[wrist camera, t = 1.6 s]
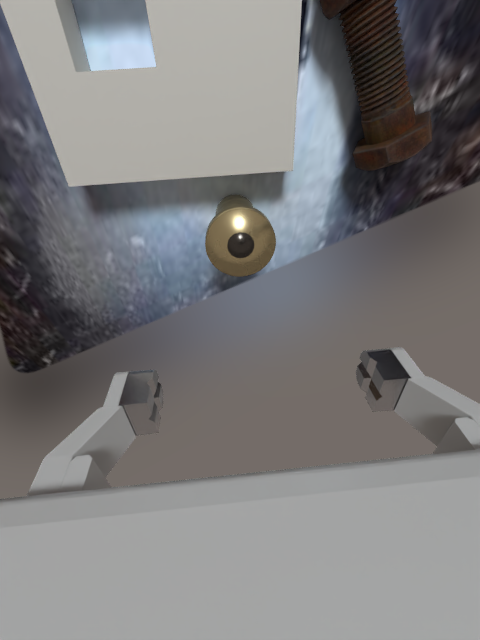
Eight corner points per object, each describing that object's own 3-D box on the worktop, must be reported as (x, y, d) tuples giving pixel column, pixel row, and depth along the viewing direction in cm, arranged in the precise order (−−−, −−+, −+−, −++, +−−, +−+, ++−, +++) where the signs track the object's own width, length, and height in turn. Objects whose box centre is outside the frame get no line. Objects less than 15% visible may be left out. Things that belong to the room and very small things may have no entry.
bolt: (330, -109, 18) (381, 143, 26) (270, -78, 17) (343, 174, 25) (425, -223, 13) (453, 128, 21) (350, -190, 12) (409, 166, 20)
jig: (300, -254, 14) (344, -426, 10) (285, 163, 25) (302, 179, 20) (-61, -241, 14) (-205, -416, 9) (82, 177, 25) (51, 197, 20)
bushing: (263, 182, 26) (276, 207, 20) (263, 239, 29) (275, 274, 24) (203, 186, 26) (201, 212, 20) (210, 243, 29) (209, 279, 23)
